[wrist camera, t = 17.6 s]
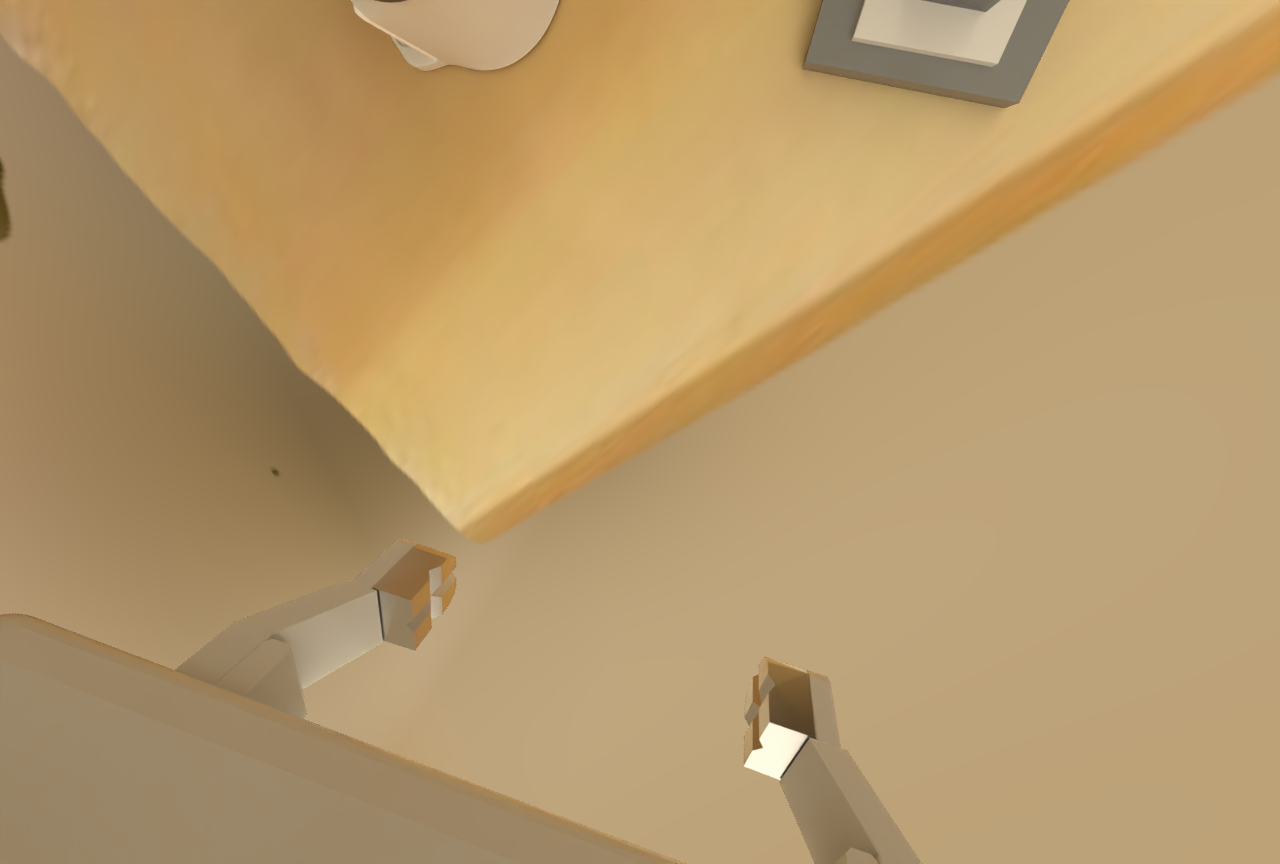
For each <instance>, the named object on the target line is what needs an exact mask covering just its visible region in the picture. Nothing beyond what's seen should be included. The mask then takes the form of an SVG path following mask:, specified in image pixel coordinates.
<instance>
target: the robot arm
mask: <svg viewBox="0 0 1280 864" xmlns="http://www.w3.org/2000/svg"><path fill="white" fill-rule="evenodd" d="M350 1H351V2H352V3H353V9H354V11H355V13H356V14H357V15H358V16H359V17H361V18H362V19H363V20H365V21H366V22H368V23H370V24H371V25H373V26H375V27H377V28H378V29H380V30H382V31H384V32H385V33H387V34H389V35H390V37H391V38H392V40H393V41H394V43H395V44H396V46H397V48H398V49H399V51H400V52H401V54H402V55H403V57H404V58H405V60H406V61H407V62H408V63H409V64H410V65H412V66H413V67H415V68H417V69H419V70H421V71H430V70H434V69H437V68H440V67H443V66H446V65H457V66H462V67H466V68H470V69H475V70H495V69H499V68H503V67H506V66H508V65H511V64H513V63H515V62H516V61H518V60H519V59H521V58H522V57H524V56H525V55H526V54H527V53H528V52H529V51H530V50H531V49H532V48H533V47H534V46H535V45H536V44H537V43H538V42H539V40H540V39H541V37H542V36H543V35H544V33H545V31H546V30H547V28H548V26H549V24H550V22H551V20H552V18H553V16H554V14H555V11H556V8H557V6H558V3H559V0H350ZM455 567H456V557H454V556H451V555H449V554H446V553H443V552H440V551H437V550H435V549H432V548H429V547H426V546H423V545H420V544H418V543H415V542H412V541H409V540H406V539H403V538H401V539H398V540H396V541H394V542H393V543H392V544H391V545H390V546H389V547H388V548H387V549H386V550H385V551H384V552H383V553H382V554H381V555H380V556H378V557H377V558H376V559H375V560H374V561H373V562H372V563H371V564H370V565H369V566H368V567H367V568H366V569H365V570H364V571H363V572H362V573H360V575H358V576H357V577H356V578H355V579H354V580H353V581H352V582H351V581H348V580H346V581H343V582H340V583H337V584H335V585H332V586H330V587H327V588H324V589H321V590H319V591H316V592H313V593H311V594H308V595H305V596H303V597H300V598H297V599H295V600H292V601H289V602H287V603H284V604H281V605H278V606H276V607H273V608H271V609H268V610H265V611H262V612H260V613H257V614H254V615H252V616H249V617H247V618H244V619H241V620H238V621H236V622H233V623H232V624H231V625H230V626H229V627H227V628H226V629H225V630H224V631H222V632H221V633H220V634H219V635H217V636H216V637H215V638H214V639H213V640H211V641H210V642H209V643H208V644H206V645H205V646H204V647H203V648H201V649H200V650H199V651H198V652H196V653H195V654H194V655H193V656H191V657H190V658H189V659H188V660H187V661H185V662H184V663H183V664H182V665H181V666H179V667H178V668H177V669H175V670H172V669H170V668H167V667H164V666H162V665H159V664H156V663H154V662H151V661H148V660H146V659H143V658H140V657H138V656H135V655H133V654H130V653H127V652H125V651H122V650H120V649H117V648H114V647H112V646H109V645H106V644H104V643H101V642H98V641H95V640H93V639H90V638H88V637H85V636H83V635H80V634H77V633H75V632H72V631H69V630H67V629H64V628H61V627H59V626H57V625H54V624H51V623H49V622H46V621H44V620H41V619H38V618H35V617H32V616H29V615H23V614H3V615H0V864H685V863H682V862H679V861H677V860H674V859H671V858H669V857H666V856H663V855H661V854H658V853H656V852H653V851H650V850H647V849H645V848H643V847H640V846H637V845H635V844H632V843H629V842H627V841H624V840H621V839H619V838H616V837H613V836H611V835H608V834H605V833H603V832H600V831H598V830H595V829H592V828H590V827H587V826H585V825H582V824H579V823H576V822H574V821H571V820H569V819H566V818H563V817H561V816H558V815H556V814H553V813H550V812H547V811H545V810H542V809H540V808H537V807H534V806H531V805H529V804H526V803H524V802H521V801H519V800H516V799H513V798H511V797H508V796H505V795H503V794H500V793H497V792H495V791H492V790H489V789H487V788H484V787H482V786H479V785H476V784H474V783H471V782H468V781H466V780H463V779H461V778H458V777H455V776H452V775H450V774H447V773H445V772H442V771H439V770H437V769H434V768H431V767H429V766H426V765H423V764H421V763H418V762H415V761H413V760H410V759H408V758H405V757H402V756H400V755H397V754H394V753H392V752H389V751H386V750H384V749H381V748H379V747H376V746H373V745H371V744H368V743H365V742H363V741H360V740H357V739H355V738H352V737H349V736H347V735H344V734H342V733H339V732H336V731H334V730H331V729H328V728H326V727H323V726H320V725H318V724H315V723H312V722H310V721H307V720H305V719H303V718H304V717H305V716H306V715H307V705H306V701H305V697H304V694H303V690H302V689H304V688H305V687H307V686H309V685H311V684H312V683H314V682H316V681H318V680H319V679H321V678H323V677H325V676H326V675H328V674H330V673H331V672H333V671H335V670H337V669H338V668H340V667H342V666H343V665H345V664H347V663H348V662H350V661H352V660H354V659H355V658H357V657H359V656H361V655H362V654H364V653H366V652H368V651H369V650H371V649H373V648H374V647H376V646H378V645H379V644H381V643H383V641H387V642H390V643H393V644H396V645H399V646H402V647H406V648H409V649H412V650H416V648H417V647H418V646H419V644H420V643H421V642H422V640H423V639H424V637H425V636H426V635H427V634H428V632H429V631H430V630H431V619H433V618H435V617H437V616H439V615H441V614H443V612H444V611H445V609H446V608H447V607H448V605H449V604H450V602H451V599H452V597H453V595H454V593H455V588H456V578H455V576H454V575H453V573H452V571H453V570H454V569H455ZM745 719H746V721H747V723H748V725H749V728H748V730H747V732H746V734H745V736H744V766H745V767H748V768H750V769H753V770H755V771H758V772H761V773H763V774H766V775H768V776H771V777H774V778H776V779H779V780H780V785H781V787H782V789H783V792H784V794H785V796H786V798H787V801H788V803H789V805H790V808H791V810H792V812H793V814H794V817H795V819H796V821H797V824H798V826H799V828H800V830H801V833H802V835H803V837H804V840H805V842H806V844H807V847H808V849H809V851H810V853H811V856H812V858H813V860H814V863H815V864H922V863H921V861H920V860H919V858H918V857H917V855H916V854H915V852H914V851H913V849H912V848H911V846H910V845H909V843H908V842H907V840H906V839H905V837H904V836H903V834H902V833H901V831H900V830H899V828H898V827H897V825H896V824H895V822H894V821H893V819H892V817H891V816H890V814H889V813H888V811H887V810H886V808H885V807H884V805H883V804H882V802H881V801H880V799H879V798H878V796H877V795H876V793H875V792H874V790H873V789H872V787H871V785H870V784H869V782H868V781H867V779H866V778H865V776H864V775H863V773H862V772H861V770H860V769H859V767H858V766H857V764H856V763H855V761H854V760H853V758H852V757H851V755H850V754H849V752H848V751H847V750H845V749H842V748H841V746H840V740H839V733H838V727H837V721H836V715H835V708H834V702H833V696H832V690H831V684H830V681H829V679H828V677H826V676H823V675H820V674H817V673H814V672H811V671H808V670H805V669H803V668H799V667H796V666H793V665H790V664H787V663H783V662H780V661H777V660H773V659H771V658H767V657H764V658H763V659H762V660H761V662H760V664H759V675H756V676H754V677H753V678H752V680H751V682H750V685H749V687H748V691H747V695H746V701H745Z"/></svg>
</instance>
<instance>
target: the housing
mask: <svg viewBox="0 0 1280 864" xmlns="http://www.w3.org/2000/svg"><path fill="white" fill-rule="evenodd" d="M923 1H928V2H933V3H939V4H944V5H949V6H955V7H960V8H966V9H971V10H976V11H982V12H987V11H988V10H989V9H990V8H992V7H993V6H994V5H995V4H997V3H998V2H999V1H1000V0H923Z"/></svg>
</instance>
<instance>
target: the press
mask: <svg viewBox="0 0 1280 864" xmlns="http://www.w3.org/2000/svg"><path fill="white" fill-rule="evenodd" d="M1068 2H1069V0H1000V1H999V2H998V3H997V4H995V5H994V6H993V7H992V8H990V9H989V10H988V11H987V12H982V11H976V10H971V9H966V8H960V7H955V6H949V5H944V4H939V3H933V2H928V1H923V0H823V1H822V5H821V8H820V12H819V15H818V19H817V22H816V25H815V29H814V32H813V36H812V39H811V42H810V46H809V49H808V53H807V56H806V60H805V63H804V66H803V69H806V70H811V71H816V72H821V73H826V74H831V75H837V76H842V77H847V78H852V79H857V80H863V81H868V82H873V83H878V84H883V85H888V86H894V87H899V88H904V89H909V90H914V91H919V92H925V93H930V94H935V95H940V96H945V97H950V98H956V99H961V100H966V101H971V102H976V103H981V104H987V105H992V106H997V107H1002V108H1006V107H1009V106H1012V105H1014V104H1017V103H1019V102H1020V100H1021V98H1022V96H1023V94H1024V92H1025V90H1026V88H1027V86H1028V84H1029V81H1030V79H1031V77H1032V75H1033V73H1034V71H1035V69H1036V67H1037V65H1038V63H1039V61H1040V59H1041V57H1042V55H1043V53H1044V51H1045V49H1046V47H1047V45H1048V43H1049V41H1050V39H1051V37H1052V35H1053V32H1054V30H1055V28H1056V26H1057V24H1058V22H1059V20H1060V18H1061V16H1062V14H1063V12H1064V10H1065V8H1066V6H1067V4H1068Z"/></svg>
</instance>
